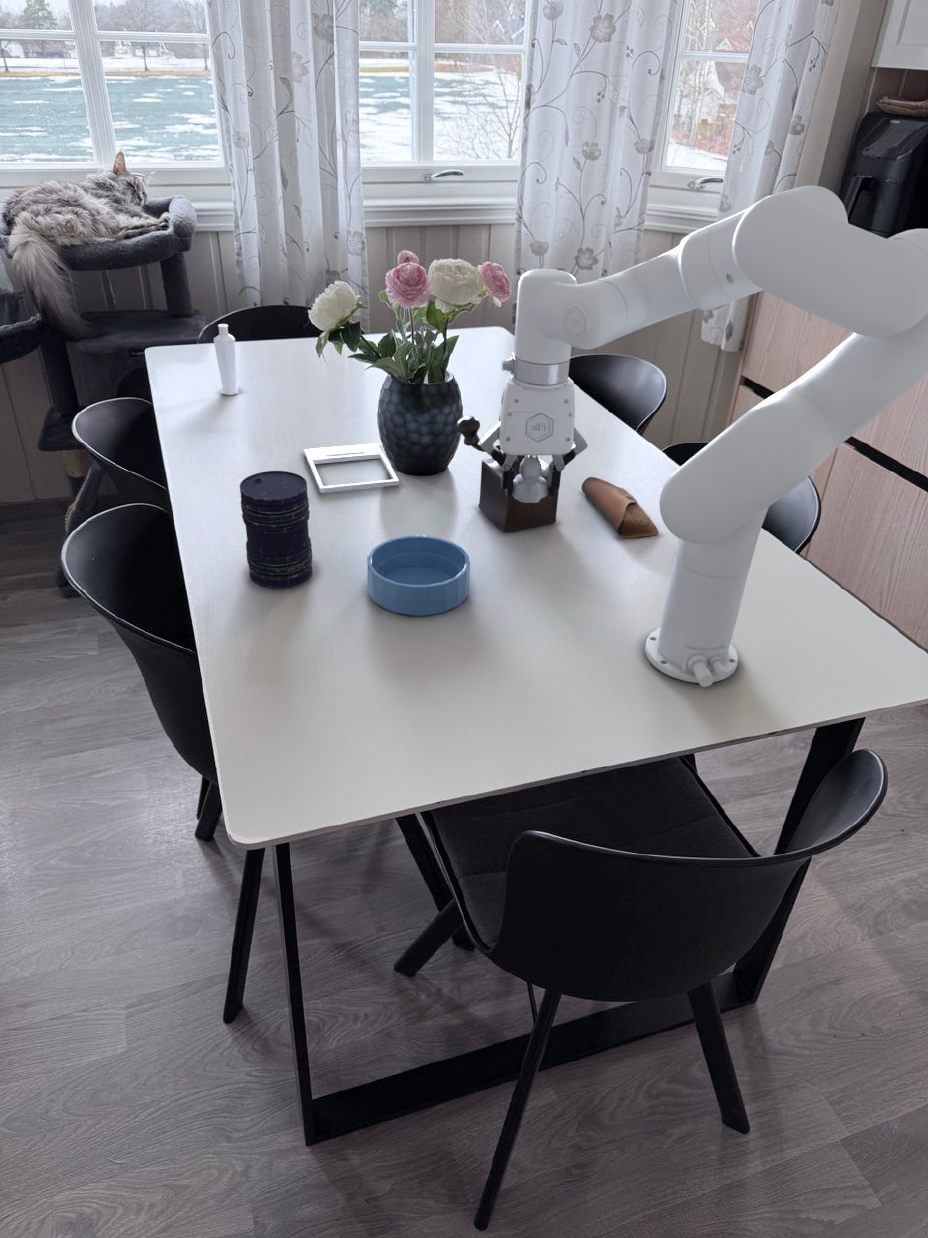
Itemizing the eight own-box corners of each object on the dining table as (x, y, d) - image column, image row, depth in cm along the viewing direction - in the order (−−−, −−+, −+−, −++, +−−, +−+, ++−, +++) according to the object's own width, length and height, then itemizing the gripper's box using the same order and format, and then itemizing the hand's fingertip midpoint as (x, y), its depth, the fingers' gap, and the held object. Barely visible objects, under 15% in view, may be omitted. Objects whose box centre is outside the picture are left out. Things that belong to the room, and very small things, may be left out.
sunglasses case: (663, 532, 153) (650, 504, 149) (627, 554, 153) (613, 526, 149) (622, 487, 167) (609, 460, 163) (589, 507, 168) (575, 481, 164)
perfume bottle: (217, 389, 203) (209, 323, 195) (236, 387, 205) (229, 321, 196) (222, 396, 200) (214, 329, 191) (241, 394, 201) (234, 327, 193)
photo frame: (376, 442, 179) (399, 479, 165) (377, 447, 179) (399, 485, 165) (304, 448, 175) (320, 487, 161) (304, 453, 175) (320, 492, 161)
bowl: (472, 616, 130) (474, 586, 127) (368, 618, 129) (367, 587, 126) (463, 563, 142) (464, 535, 140) (368, 564, 141) (367, 535, 138)
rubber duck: (539, 491, 133) (544, 440, 128) (553, 511, 127) (559, 459, 123) (504, 493, 132) (508, 442, 127) (517, 514, 126) (521, 461, 122)
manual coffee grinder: (526, 497, 163) (534, 402, 153) (557, 523, 155) (567, 425, 145) (449, 511, 158) (453, 413, 148) (477, 539, 149) (483, 438, 139)
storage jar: (326, 568, 140) (321, 481, 131) (285, 596, 132) (277, 506, 124) (277, 550, 144) (269, 464, 135) (235, 576, 136) (224, 488, 128)
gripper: (479, 378, 115) (472, 504, 125) (609, 379, 116) (593, 504, 126) (473, 359, 121) (467, 481, 131) (597, 360, 122) (582, 481, 132)
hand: (529, 491), depth 128 cm, fingers closed on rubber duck, 5 cm apart
